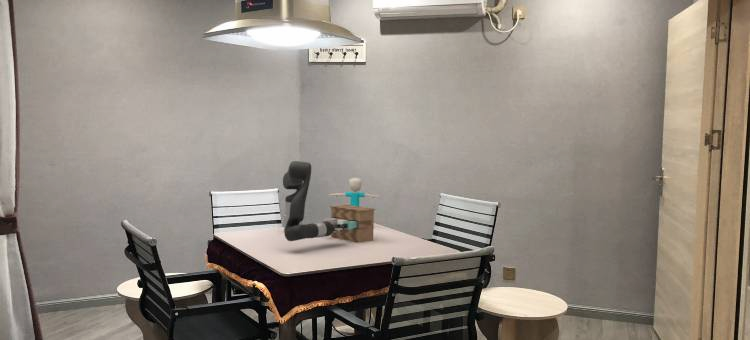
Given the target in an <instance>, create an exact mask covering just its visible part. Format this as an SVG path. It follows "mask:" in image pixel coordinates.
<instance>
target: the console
mask: <svg viewBox="0 0 750 340" xmlns="http://www.w3.org/2000/svg"><path fill="white" fill-rule="evenodd" d="M329 207H330V219H331V218H339V220H344V219H348V222H350V221H358V228H353V229H351V230H347V229H344V230H343V232H340V231H336V232H332V234H331V235H330V238H334V239H338V240H343V239H344V241H348V240H349V242H353V241H354V242H353V243H358V242H359V244H360V243H361V242H362V243H366V242H367V241H368V242H373V241H374V228H375V226H374V222H375V221H374V219H375V217H374V216H375V215H374V214H375V211H376V208H372V207H371V208H370V207H365V206H360V205H359V206H352V205H350V204H337V205H329ZM368 242H367V243H368Z"/></svg>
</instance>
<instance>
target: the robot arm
mask: <svg viewBox="0 0 750 340" xmlns="http://www.w3.org/2000/svg"><path fill="white" fill-rule="evenodd" d="M311 175H312V164H311V163H310V162H307V161H300V160H299V161H298V160H293V161H291V162H290V163H289V166H288V169H287V171H286V172H285V173H284V175H283V177H282V185H283V188H284V189H285V190H295V192H294V193H291V194H290V195H289V194H288V195H286V196H285V199H284V201H285V209H284V211H285V212H284V214H285V215H283V233H284V238H285V239H286V240H287V241H288V242H296V241H299V240H304V239H317V238H325V237H331V234H332V232H336V231H340V232H343V230H344V229H345V228H348V224H335V223H334V224H331V223H330V222H329V221H324V220H323V221H317V222H311V223H306V224H303V221H304V219H305V207H306V202H307V196H308V191H309V186H310V182H311Z"/></svg>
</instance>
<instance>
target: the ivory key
mask: <svg viewBox="0 0 750 340" xmlns="http://www.w3.org/2000/svg"><path fill="white" fill-rule="evenodd" d="M345 221H346V222H348V219H344V220H338V224H344V222H345Z"/></svg>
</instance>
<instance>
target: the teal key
mask: <svg viewBox="0 0 750 340" xmlns="http://www.w3.org/2000/svg"><path fill="white" fill-rule="evenodd" d="M344 224H348V228H345V229H347V230H351V229H353V228H358V221H350V222H346V221H345V222H344Z"/></svg>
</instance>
